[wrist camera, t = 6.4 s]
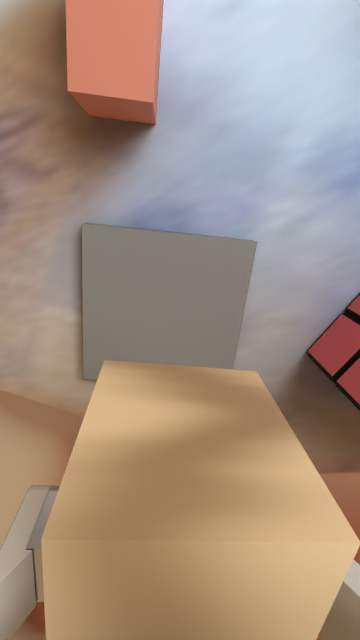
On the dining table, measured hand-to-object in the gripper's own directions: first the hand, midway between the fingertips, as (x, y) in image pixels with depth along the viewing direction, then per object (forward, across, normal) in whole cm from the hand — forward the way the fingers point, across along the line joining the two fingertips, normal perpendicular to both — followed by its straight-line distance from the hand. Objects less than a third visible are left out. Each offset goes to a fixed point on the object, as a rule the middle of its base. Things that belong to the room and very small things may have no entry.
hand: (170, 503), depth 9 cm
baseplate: (+18, 0, 0) cm, 18 cm away
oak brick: (+2, 0, 0) cm, 2 cm away
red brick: (+18, +4, -17) cm, 25 cm away
